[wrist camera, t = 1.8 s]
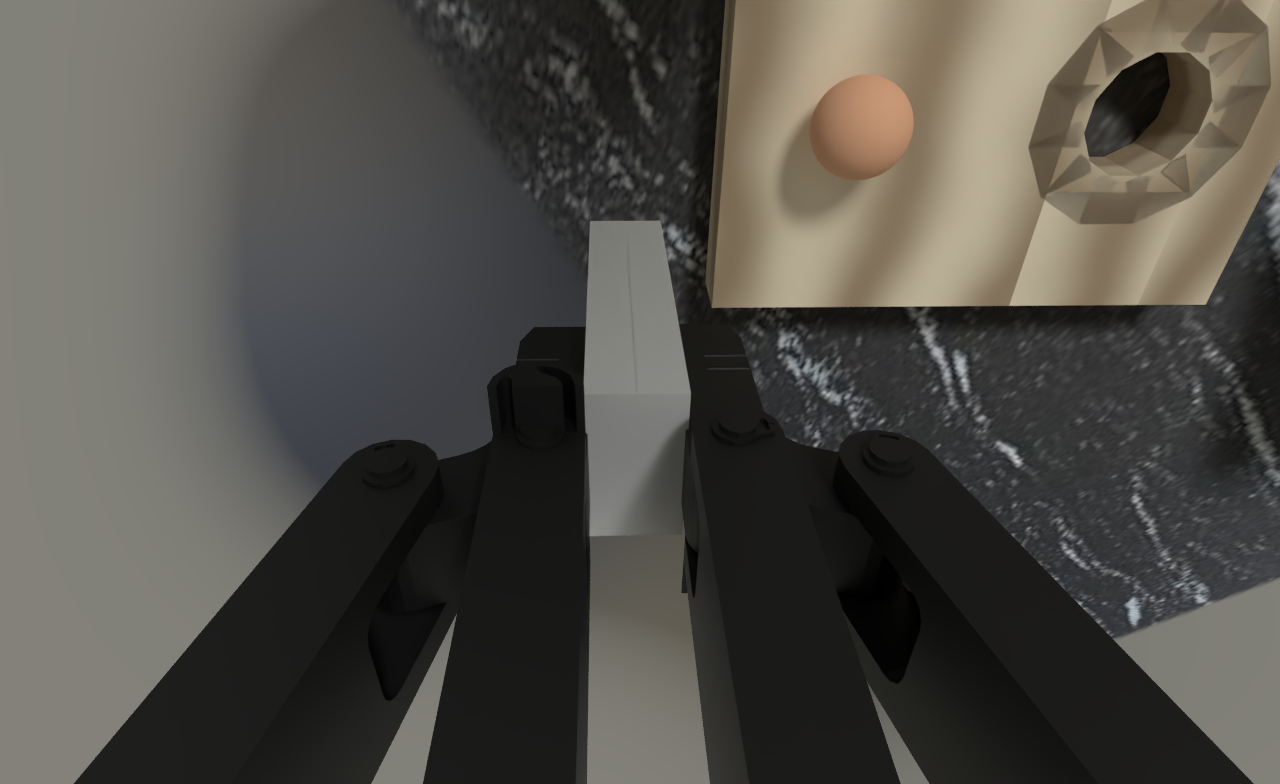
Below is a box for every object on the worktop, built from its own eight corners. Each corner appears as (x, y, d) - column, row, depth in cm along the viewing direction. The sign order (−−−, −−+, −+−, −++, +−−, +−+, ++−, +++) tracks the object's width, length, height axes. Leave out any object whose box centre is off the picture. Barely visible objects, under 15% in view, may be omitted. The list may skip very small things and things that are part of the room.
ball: (807, 64, 26) (832, 86, 23) (903, 65, 26) (940, 87, 23) (794, 162, 28) (815, 194, 25) (884, 162, 28) (915, 194, 25)
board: (705, 282, 34) (711, 307, 32) (736, -152, 25) (747, -155, 22) (1169, 279, 34) (1205, 304, 32) (1365, -140, 25) (1432, -142, 23)
